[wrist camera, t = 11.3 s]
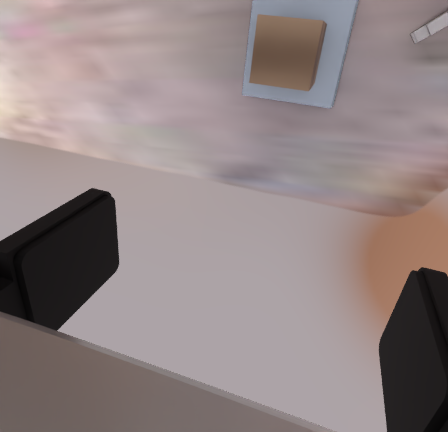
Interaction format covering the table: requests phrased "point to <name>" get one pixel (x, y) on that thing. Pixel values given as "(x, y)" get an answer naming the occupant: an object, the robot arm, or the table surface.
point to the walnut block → (287, 51)
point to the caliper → (430, 27)
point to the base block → (330, 55)
